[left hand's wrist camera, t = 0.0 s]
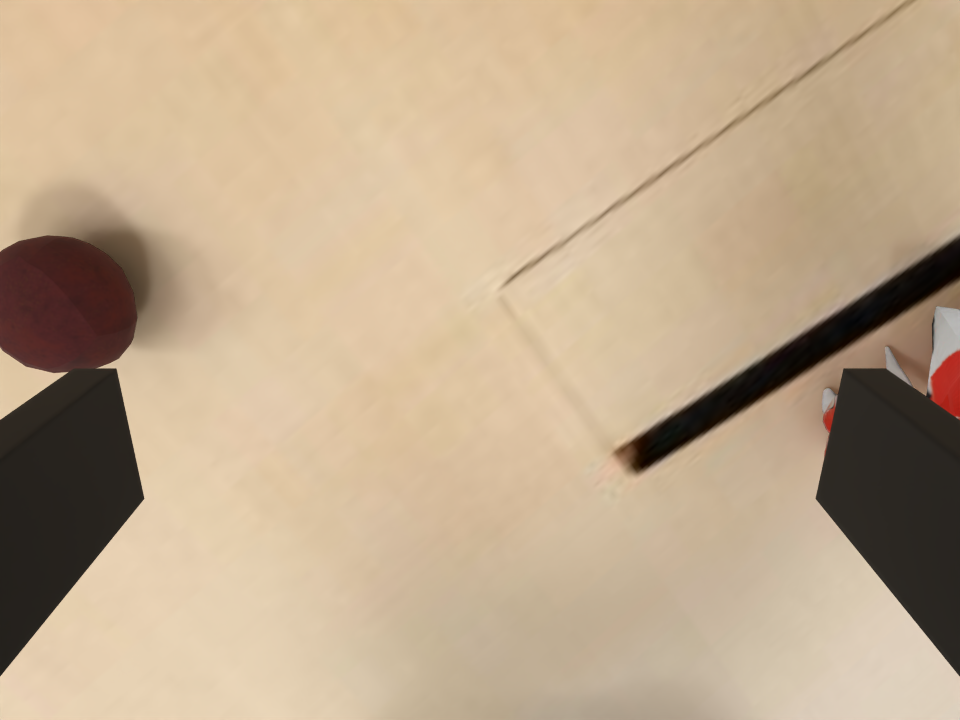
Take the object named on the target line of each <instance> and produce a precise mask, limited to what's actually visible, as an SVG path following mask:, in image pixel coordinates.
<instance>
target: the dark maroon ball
mask: <svg viewBox="0 0 960 720" xmlns="http://www.w3.org/2000/svg"><path fill="white" fill-rule="evenodd" d="M136 322H137V312H136V306H135V299H134V292H133V290H132V288H131V286H130V284H129V282H128V280H127V278H126V276H125V274H124V272H123V270H122V268H121V267H120V266H119V265H118V264H117V263H116V262H115V261H113V260H112V259H111V258H110V257H109V256H108V255H107V254H106V253H104V252H103V251H101V250H99V249H98V248H96V247H94V246H93V245H91V244H89V243H86V242H83V241H80V240H78V239H75V238H71V237H62V236H42V237H37V238H32V239H27V240H22V241H18V242H16V243H15V244H13V245H11V246H9V247H7V248H5V249H3V250H2V251H1V252H0V348H1V349H2V350H3V351H4V352H5V353H7V354H8V355H10V356H11V357H13V358H14V359H16V360H17V361H19V362H20V363H22V364H23V365H25V366H26V367H31V368H35V369H39V370H43V371H48V372H52V373H60V372H70V371H71V370H73V369H95V368H98V367H101V366H103V365H106V364H109V363H111V362H113V361H115V360H117V359H119V358H120V356H121V355H122V354H123V353H124V351H125V350H126V349H127V348H128V347H129V345H130V344H131V342H132V340H133V337H134V332H135V327H136Z"/></svg>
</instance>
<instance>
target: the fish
mask: <svg viewBox="0 0 960 720" xmlns="http://www.w3.org/2000/svg"><path fill="white" fill-rule="evenodd" d="M932 344H933V352H932V358H931V365H930V372H929V380H928V388H927V395H926V397H928V398H929V399H930V400H932V401H933V402H935V403H936V404H938V405H939V406H940V407H942V408H943V409H945V410H946V411H948V412H949V413H950V414H952V415H953V416H955V417H956V418H958V419H959V420H960V309H953V308H946V307H939V306H936V309H935V314H934V318H933V323H932ZM885 354H886V369H887V370H889V371H890V372H892V373H893V374H895V375H896V376H897V377H899V378H900V379H902V380H903V381H905V382H906V383H908V384H909V385H910V386H912V384H911V382H910V380H909V379H908V377H907V376H906V375H905V373H904V372H903V370H902V369H901V367H900V365H899V364H898V362H897V360H896V359H895V357H894V355H893V353H892V352H891V350H890V348H889V347H885ZM912 387H913V386H912ZM837 397H838V394H837V395H836V394H835V393H834V392H833V391H832V390H831V389H830V388H826V389H825V390H824V391H823V398H822V410H823V413H824V417H823V423H824V425H825V428H826V430H827V431H828V432H829V433H830V430H831V425H832V420H833V416H834V411H835V406H836V402H837ZM828 439H829V436H828ZM827 444H828V440H827ZM827 444H826V448H827ZM825 453H826V449H825ZM824 458H825V455H824Z"/></svg>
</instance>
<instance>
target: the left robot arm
mask: <svg viewBox="0 0 960 720" xmlns="http://www.w3.org/2000/svg"><path fill="white" fill-rule="evenodd" d="M143 500H144V495H143V490H142V486H141V481H140V476H139V472H138V467H137V462H136V458H135V453H134V448H133V444H132V439H131V434H130V430H129V425H128V420H127V416H126V411H125V406H124V402H123V397H122V393H121V388H120V383H119V379H118V374H117V369H73V370H71V371H70V372H68V373H67V374H65V375H64V376H63V377H61V378H60V379H58V380H57V381H55V382H54V383H52V384H51V385H50V386H48V387H47V388H45V389H44V390H42V391H41V392H40V393H38V394H37V395H35V396H34V397H32V398H31V399H30V400H28V401H27V402H25V403H24V404H22V405H21V406H20V407H18V408H17V409H15V410H14V411H12V412H11V413H10V414H8V415H7V416H5V417H4V418H2V419H1V420H0V676H1V675H2V674H3V672H4V671H5V670H6V669H7V667H8V666H9V665H10V664H11V662H12V661H13V660H14V659H15V657H16V656H17V655H18V654H19V653H20V651H21V650H22V649H23V648H24V646H25V645H26V644H27V643H28V641H29V640H30V639H31V638H32V637H33V635H34V634H35V633H36V632H37V630H38V629H39V628H40V627H41V625H42V624H43V623H44V622H45V621H46V619H47V618H48V617H49V616H50V614H51V613H52V612H53V611H54V609H55V608H56V607H57V606H58V604H59V603H60V602H61V601H62V600H63V598H64V597H65V596H66V595H67V593H68V592H69V591H70V590H71V588H72V587H73V586H74V585H75V584H76V582H77V581H78V580H79V579H80V577H81V576H82V575H83V574H84V572H85V571H86V570H87V569H88V568H89V566H90V565H91V564H92V563H93V561H94V560H95V559H96V558H97V556H98V555H99V554H100V553H101V551H102V550H103V549H104V548H105V547H106V545H107V544H108V543H109V542H110V540H111V539H112V538H113V537H114V535H115V534H116V533H117V532H118V531H119V529H120V528H121V527H122V526H123V524H124V523H125V522H126V521H127V519H128V518H129V517H130V516H131V515H132V513H133V512H134V511H135V510H136V508H137V507H138V506H139V505H140V503H141V502H142V501H143ZM816 500H817V501H818V502H819V503H820V505H821V506H822V507H823V508H824V510H825V511H826V512H827V513H828V515H829V516H830V517H831V518H832V519H833V521H834V522H835V523H836V524H837V526H838V527H839V528H840V529H841V531H842V532H843V533H844V534H845V535H846V537H847V538H848V539H849V540H850V542H851V543H852V544H853V545H854V547H855V548H856V549H857V550H858V551H859V553H860V554H861V555H862V556H863V558H864V559H865V560H866V561H867V563H868V564H869V565H870V566H871V568H872V569H873V570H874V571H875V572H876V574H877V575H878V576H879V577H880V579H881V580H882V581H883V582H884V584H885V585H886V586H887V587H888V588H889V590H890V591H891V592H892V593H893V595H894V596H895V597H896V598H897V600H898V601H899V602H900V603H901V604H902V606H903V607H904V608H905V609H906V611H907V612H908V613H909V614H910V616H911V617H912V618H913V619H914V621H915V622H916V623H917V624H918V625H919V627H920V628H921V629H922V630H923V632H924V633H925V634H926V635H927V637H928V638H929V639H930V640H931V641H932V643H933V644H934V645H935V646H936V648H937V649H938V650H939V651H940V653H941V654H942V655H943V656H944V657H945V659H946V660H947V661H948V662H949V664H950V665H951V666H952V667H953V669H954V670H955V671H956V672H957V674H958V675H959V676H960V420H959V419H958V418H956V417H955V416H953V415H952V414H950V413H949V412H948V411H946V410H945V409H943V408H942V407H940V406H939V405H938V404H936V403H935V402H933V401H932V400H930V399H929V398H928V397H926V396H925V395H923V394H922V393H920V392H919V391H918V390H916V389H915V388H913V387H912V386H910V385H909V384H908V383H906V382H905V381H903V380H902V379H900V378H899V377H897V376H896V375H895V374H893V373H892V372H890V371H889V370H887V369H843V374H842V379H841V383H840V388H839V393H838V397H837V402H836V406H835V411H834V416H833V420H832V425H831V430H830V434H829V439H828V444H827V448H826V453H825V458H824V462H823V467H822V472H821V476H820V481H819V486H818V490H817V495H816Z"/></svg>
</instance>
